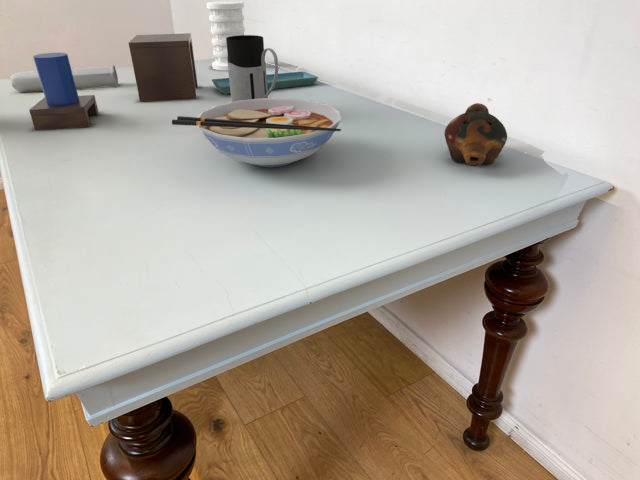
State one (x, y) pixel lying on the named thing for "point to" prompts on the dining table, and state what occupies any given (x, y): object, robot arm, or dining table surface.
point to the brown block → (164, 66)
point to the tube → (82, 76)
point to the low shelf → (64, 114)
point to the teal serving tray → (282, 81)
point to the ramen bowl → (267, 129)
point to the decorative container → (224, 28)
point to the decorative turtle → (475, 136)
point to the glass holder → (248, 67)
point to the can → (56, 78)
